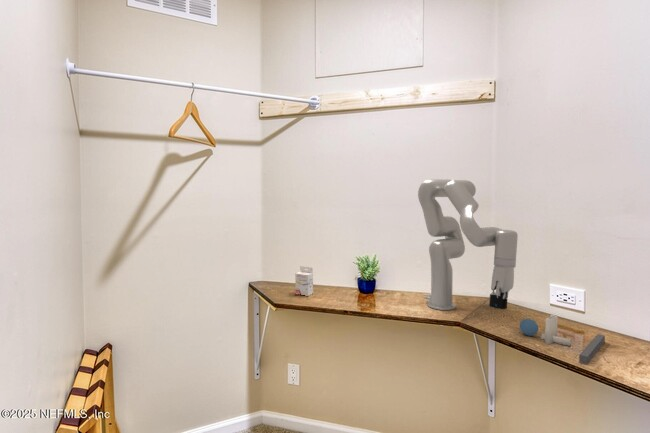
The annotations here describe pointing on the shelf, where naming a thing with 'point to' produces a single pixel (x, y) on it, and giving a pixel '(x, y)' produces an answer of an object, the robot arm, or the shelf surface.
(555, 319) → the pin
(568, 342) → the front pin
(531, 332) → the ball
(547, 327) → the pin
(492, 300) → the padlock
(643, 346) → the shelf surface
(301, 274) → the ink cartridge box
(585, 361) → the grey long square bar
